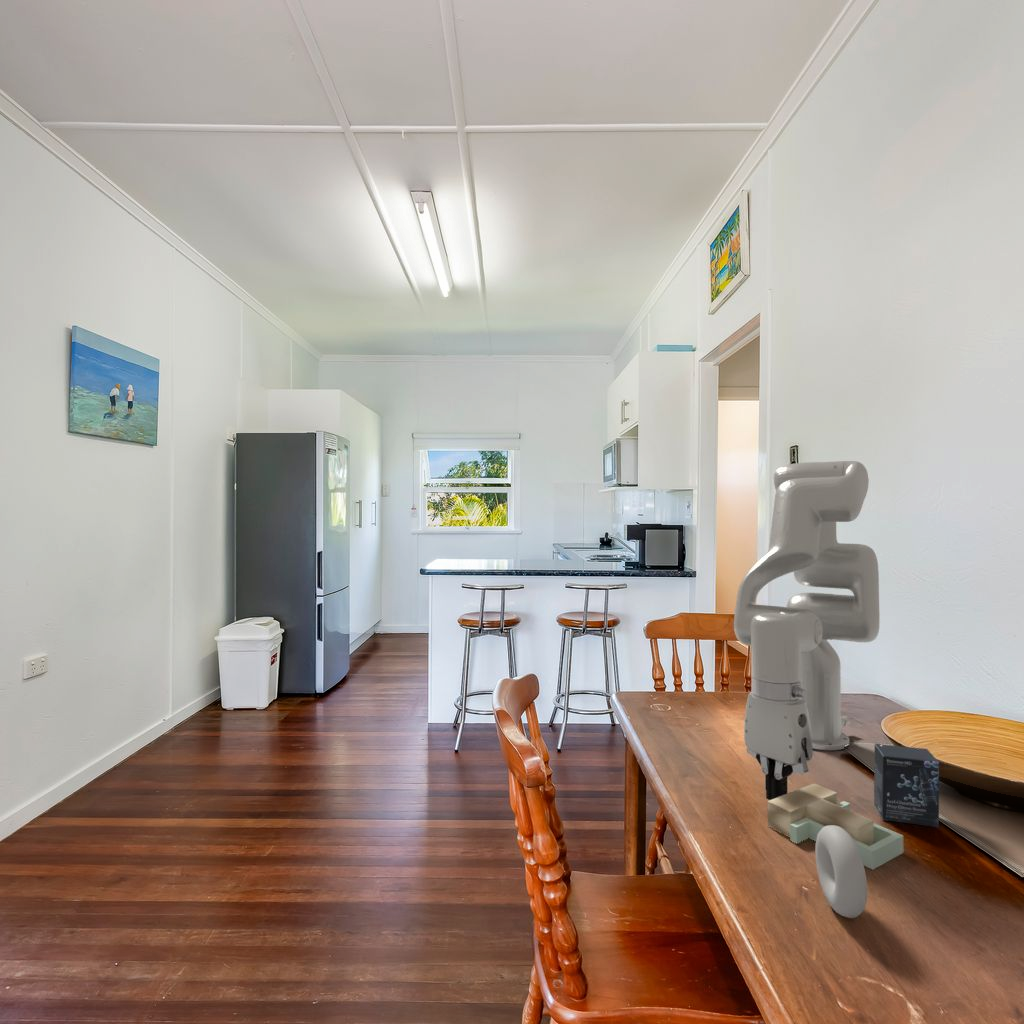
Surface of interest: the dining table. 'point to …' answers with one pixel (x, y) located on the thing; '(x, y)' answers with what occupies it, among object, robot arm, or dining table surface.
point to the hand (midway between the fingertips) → (776, 798)
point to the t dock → (872, 856)
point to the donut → (841, 871)
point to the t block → (818, 813)
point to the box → (906, 785)
